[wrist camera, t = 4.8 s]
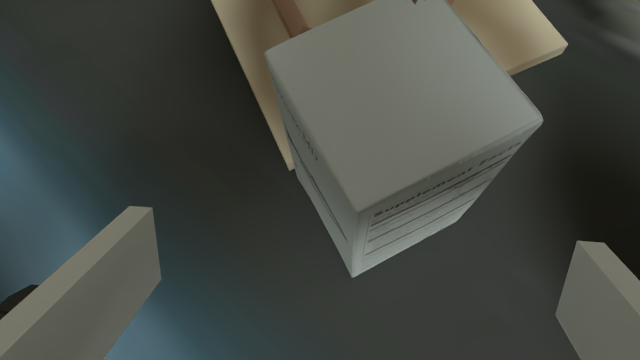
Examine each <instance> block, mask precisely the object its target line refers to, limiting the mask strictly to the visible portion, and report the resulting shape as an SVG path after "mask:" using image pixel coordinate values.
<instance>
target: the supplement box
mask: <svg viewBox="0 0 640 360" xmlns="http://www.w3.org/2000/svg"><path fill="white" fill-rule="evenodd" d="M264 56H265V59H266V62H267V65H268V69H269V73H270V76H271V80H272V84H273V88H274V91H275V95H276V99H277V102H278V106H279V110H280V114H281V118H282V121H283V125H284V129H285V133H286V137H287V141H288V145H289V148H290V152H291V156H292V160H293V163H294V167H295V171H296V174H297V177H298V179H299V181H300V183H301V184H302V186H303V187H304V189H305V191H306V192H307V194H308V196H309V197H310V199H311V201H312V202H313V204H314V206H315V208H316V210H317V212H318V214H319V215H320V217H321V219H322V221H323V223H324V225H325V227H326V229H327V230H328V232H329V234H330V236H331V238H332V240H333V242H334V243H335V245H336V247H337V249H338V251H339V253H340V255H341V257H342V259H343V261H344V263H345V265H346V267H347V269H348V271H349V273H350V275H351V277H356V276H357V275H359V274H360V273H362V272H364V271H366V270H368V269H370V268H372V267H373V266H375V265H377V264H379V263H381V262H382V261H384V260H386V259H388V258H390V257H392V256H394V255H395V254H397V253H399V252H401V251H403V250H405V249H407V248H408V247H410V246H412V245H414V244H416V243H418V242H420V241H421V240H423V239H425V238H427V237H429V236H431V235H432V234H434V233H436V232H438V231H440V230H442V229H444V228H445V227H447V226H449V225H451V224H453V223H454V222H456V221H457V220H458V219H459V218H460V217H461V216H462V215H463V213H464V212H465V211H466V210H467V209H468V208H469V207H470V206H471V205H472V204H473V202H474V201H475V200H476V199H477V198H478V196H479V195H480V194H481V193H482V192H483V190H484V189H485V188H486V187H487V186H488V185H489V184H490V182H491V181H492V180H493V179H494V177H495V176H496V175H497V174H498V173H499V171H500V170H501V169H502V168H503V167H504V165H505V164H506V163H507V162H508V161H509V159H510V158H511V157H512V156H513V155H514V153H515V152H516V151H517V150H518V149H519V148H520V147H521V145H522V144H523V143H524V142H525V141H526V140H527V139H528V138H529V137H530V136H531V135H532V134H533V133H534V132H535V131H536V130H537V129H538V128H539V127H540V126H541V125H542V123H543V117H542V115H541V113H540V112H539V110H538V109H537V108H536V107H535V106H534V105H533V103H532V102H531V101H530V100H529V98H528V97H527V96H526V95H525V94H524V93H523V92H522V90H521V89H520V88H519V87H518V86H517V85H516V83H515V82H514V81H513V80H512V78H511V77H510V76H509V75H508V74H507V72H506V71H505V70H504V69H503V67H502V66H501V65H500V64H499V63H498V62H497V60H496V59H495V58H494V57H493V56H492V54H491V53H490V52H489V51H488V49H487V48H486V47H485V46H484V44H483V43H482V41H481V40H480V39H479V38H478V37H477V35H476V34H475V33H474V32H473V31H472V30H471V29H470V28H469V27H468V25H467V24H466V23H465V22H464V21H463V19H462V18H461V17H460V16H459V15H458V13H457V12H456V11H455V10H454V9H453V7H452V6H451V5H450V4H449V3H448V1H447V0H375V1H372V2H370V3H368V4H366V5H363V6H361V7H359V8H357V9H355V10H352V11H350V12H348V13H346V14H344V15H342V16H339V17H337V18H335V19H333V20H330V21H328V22H326V23H324V24H322V25H320V26H317V27H315V28H313V29H311V30H309V31H307V32H304V33H302V34H300V35H297V36H296V37H293V38H291V39H288V40H286V41H284V42H282V43H280V44H278V45H276V46H274V47H272V48H270V49H269V50H267V51H265V53H264Z"/></svg>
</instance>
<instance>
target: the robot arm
mask: <svg viewBox="0 0 640 360" xmlns="http://www.w3.org/2000/svg"><path fill="white" fill-rule="evenodd" d="M160 280H161V272H160V264H159V257H158V249H157V241H156V233H155V225H154V217H153V210H152V208H149V207H136V206H129V207H128V208H127V209H125V210H124V211H123V212H122V213H121V214H120V215H119V216H118V217H116V218H115V219H114V220H113V221H112V222H111V223H110V224H108V225H107V226H106V227H105V228H104V229H103V230H102V231H101V232H99V233H98V234H97V235H96V236H95V237H94V238H93V239H91V240H90V241H89V242H88V243H87V244H86V245H85V246H84V247H82V248H81V249H80V250H79V251H78V252H77V253H76V254H74V255H73V256H72V257H71V258H70V259H69V260H68V261H67V262H65V263H64V264H63V265H62V266H61V267H60V268H59V269H57V270H56V271H55V272H54V273H53V274H52V275H51V276H50V277H48V278H47V279H46V280H45V281H44V282H43V283H42V284H40V285H30V286H28V287H26V288H24V289H22V290H20V291H18V292H17V293H15V294H13V295H11V296H9V297H8V298H7V299H6V300H4V301H3V302H2V303H1V304H0V360H103V358H104V357H105V356H106V354H107V353H108V351H109V350H110V349H111V347H112V346H113V345H114V343H115V342H116V341H117V339H118V338H119V336H120V335H121V334H122V332H123V331H124V330H125V328H126V327H127V326H128V324H129V323H130V321H131V320H132V319H133V317H134V316H135V315H136V313H137V312H138V310H139V309H140V308H141V306H142V305H143V304H144V302H145V301H146V300H147V298H148V297H149V295H150V294H151V293H152V291H153V290H154V289H155V287H156V286H157V284H158V283H159V282H160ZM555 316H556V317H557V319H558V321H559V323H560V324H561V326H562V328H563V330H564V331H565V333H566V335H567V337H568V338H569V340H570V342H571V344H572V345H573V347H574V349H575V350H576V352H577V354H578V356H579V357H580V359H581V360H640V281H639V280H638V278H637V277H636V276H635V275H634V274H633V273H632V272H631V271H630V270H629V269H628V268H627V267H626V266H625V265H624V263H623V262H622V261H621V260H620V259H619V258H618V257H617V256H616V255H615V254H614V253H613V252H612V251H611V250H610V249H609V247H608V246H607V245H606V244H605V243H601V242H588V241H577V243H576V246H575V250H574V253H573V256H572V260H571V263H570V267H569V270H568V273H567V277H566V280H565V284H564V287H563V290H562V294H561V297H560V301H559V304H558V307H557V311H556V314H555Z"/></svg>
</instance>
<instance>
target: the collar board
mask: <svg viewBox="0 0 640 360" xmlns="http://www.w3.org/2000/svg"><path fill="white" fill-rule="evenodd" d="M372 1H375V0H211V2H212V4H213V6H214V8H215V11H216V13H217V15H218V17H219V19H220V21H221V24H222V26H223V28H224V30H225V32H226V34H227V37H228V39H229V41H230V43H231V45H232V48H233V50H234V52H235V54H236V56H237V58H238V61H239V63H240V65H241V67H242V69H243V71H244V74H245V76H246V78H247V80H248V82H249V84H250V87H251V89H252V91H253V93H254V95H255V98H256V100H257V102H258V104H259V106H260V108H261V111H262V113H263V115H264V117H265V119H266V121H267V124H268V126H269V128H270V130H271V132H272V134H273V137H274V139H275V141H276V143H277V145H278V148H279V150H280V152H281V154H282V156H283V158H284V161H285V163H286V165H287V167H288V169H289V171H290V170H293V169H295V167H294V163H293V160H292V156H291V152H290V148H289V145H288V141H287V137H286V133H285V129H284V125H283V121H282V118H281V114H280V110H279V106H278V102H277V99H276V95H275V91H274V88H273V84H272V80H271V76H270V73H269V69H268V65H267V62H266V59H265V56H264V53H265V51H267V50H269V49H270V48H272V47H274V46H276V45H278V44H280V43H282V42H284V41H286V40H288V39H291V38H293V37H296V36H297V35H300V34H302V33H304V32H307V31H309V30H311V29H313V28H315V27H317V26H320V25H322V24H324V23H326V22H328V21H330V20H333V19H335V18H337V17H339V16H342V15H344V14H346V13H348V12H350V11H352V10H355V9H357V8H359V7H361V6H363V5H366V4H368V3H370V2H372ZM447 1H448V3H449V4H450V5H451V6H452V7H453V9H454V10H455V11H456V12H457V13H458V15H459V16H460V17H461V18H462V19H463V21H464V22H465V23H466V24H467V25H468V27H469V28H470V29H471V30H472V31H473V32H474V33H475V34H476V35H477V37H478V38H479V39H480V40H481V41H482V43H483V44H484V46H485V47H486V48H487V49H488V51H489V52H490V53H491V54H492V56H493V57H494V58H495V59H496V60H497V62H498V63H499V64H500V65H501V66H502V67H503V69H504V70H505V71H506V72H507V74H508V75H509V76H511V75H514V74H516V73H518V72H521V71H523V70H525V69H528V68H530V67H532V66H535V65H537V64H539V63H542V62H544V61H546V60H549V59H551V58H553V57H555V56H558V55H560V54H562V52H563V51H564V50H565V48H566V47H567V45H568V43H567V42H566V41H565V40H564V39H563V37H562V36H561V35H560V34H559V33H558V31H557V30H556V29H555V28H554V27H553V25H552V24H551V23H550V22H549V21H548V19H547V18H546V17H545V16H544V15H543V13H542V12H541V11H540V10H539V9H538V7H537V6H536V5H535V4H534V3H533V1H532V0H447Z"/></svg>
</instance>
